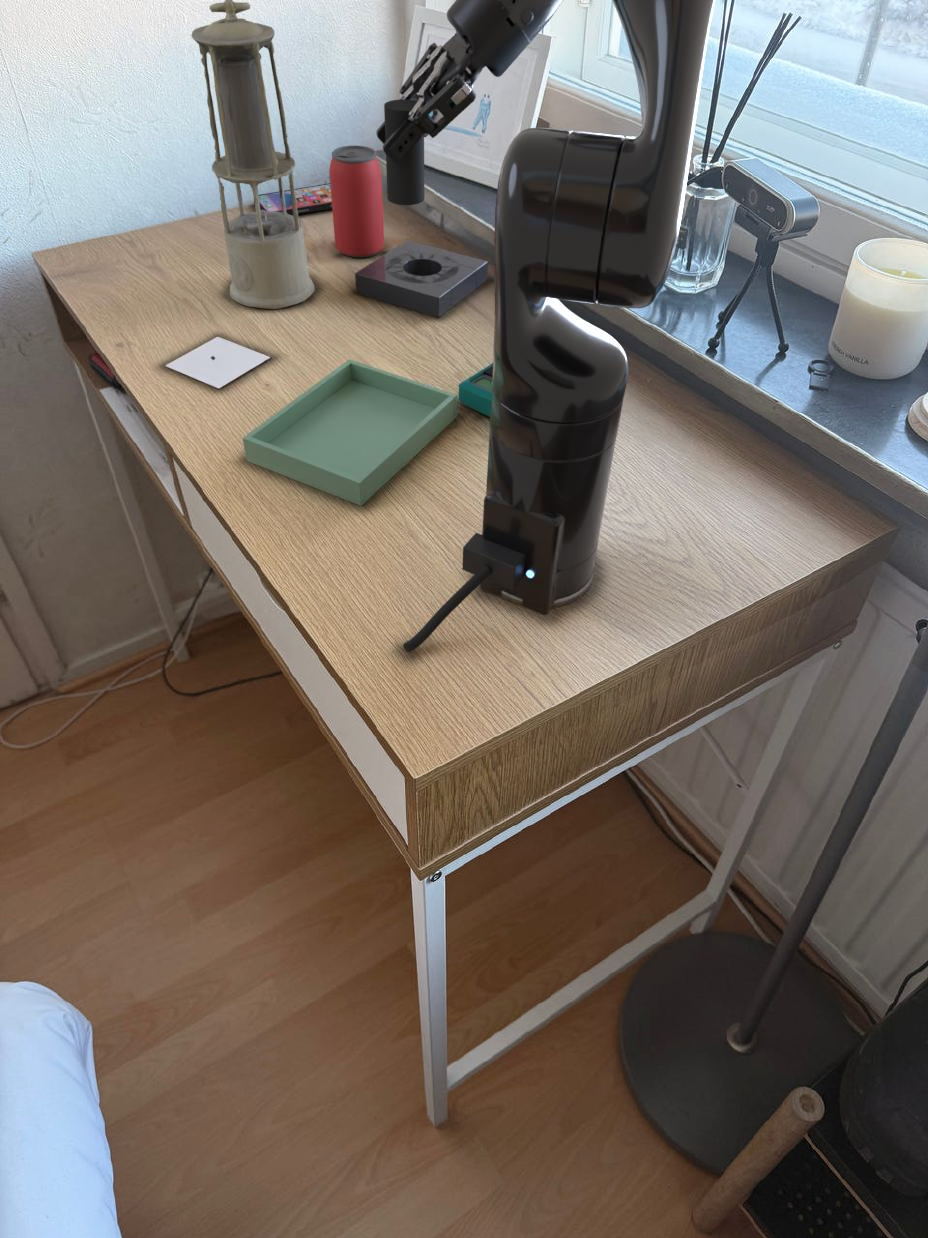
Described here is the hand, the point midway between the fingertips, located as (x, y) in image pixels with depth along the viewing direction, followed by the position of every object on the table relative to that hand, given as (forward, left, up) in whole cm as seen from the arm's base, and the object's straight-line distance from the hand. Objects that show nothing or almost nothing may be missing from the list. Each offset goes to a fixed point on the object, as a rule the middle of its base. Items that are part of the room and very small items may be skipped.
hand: (386, 148), depth 90 cm
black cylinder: (+1, -1, -5) cm, 5 cm away
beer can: (+14, +14, -19) cm, 28 cm away
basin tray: (-23, -11, -19) cm, 31 cm away
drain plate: (+9, +1, -19) cm, 21 cm away
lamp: (-1, +17, -19) cm, 26 cm away
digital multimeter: (-6, -21, -19) cm, 28 cm away
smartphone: (+23, +30, -19) cm, 42 cm away
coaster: (-19, +10, -19) cm, 28 cm away
